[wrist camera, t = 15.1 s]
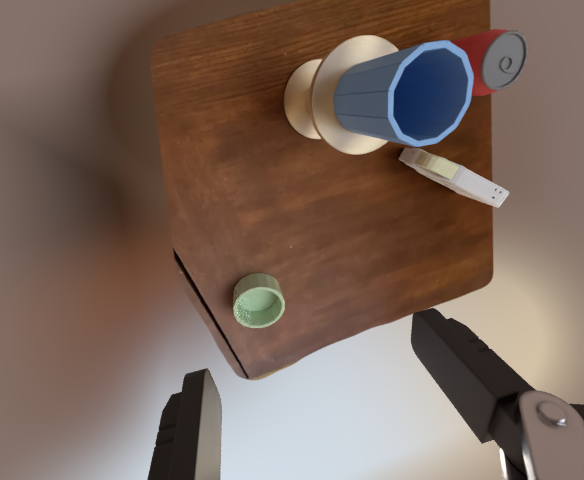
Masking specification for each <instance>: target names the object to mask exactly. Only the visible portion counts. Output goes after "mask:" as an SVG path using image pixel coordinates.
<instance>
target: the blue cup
mask: <svg viewBox="0 0 584 480" xmlns="http://www.w3.org/2000/svg"><path fill="white" fill-rule="evenodd" d="M473 76H474V74H473V71H472V68H471V65H470V62H469V59H468V57H467V54H466V53H465V51H463V50H462V49H460V48H459V47H457V46H456V45H454V44H453V43H451V42H450V41H448V40H441V41H434V42H428V43H423V44H419V45H416V46H413V47H410V48H407V49H404V50H400V51H397V52H394V53H391V54H388V55H385V56H381V57H378V58H375V59H372V60H369V61H366V62H362V63H359V64H356V65H354V66H352V67H351V68H350V69H349V70H348V71H347V72H346V73H345V74H344V75H342V76H341V78H340V79H339V82H338V85H337V87H336V90H335V92H334V96H333V99H334V113H335V115H336V117H337V119H338V120H339V122H340V123H341V125H342V127H344V128H345V129H347V130H350V131H352V132H354V133H357V134H361V135H366V136H370V137H374V138H379V139H383V140H388V141H392V142H396V143H401V144H405V145H409V146H414V147H420V146H425V145H430V144H435V143H437V142H439V141H440V140H442V139H443V138H444V137H445V136H447V135H448V134H449V133H450V132H452V131H453V130H454V129H455V128H456V127H457V126H458V124H459V123H460V121H461V119H462V117H463V115H464V114H465V112H466V110H467V108H468V107H469V105H470V104H469V103H470V102H471V95H472V87H473V80H474V77H473Z"/></svg>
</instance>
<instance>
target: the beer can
mask: <svg viewBox="0 0 584 480" xmlns="http://www.w3.org/2000/svg"><path fill="white" fill-rule="evenodd" d="M451 43H453V44H454V45H456V46H457V47H459V48H460V49H462V50H463V51H465V53H466V54H467V57H468V59H469V62H470V65H471V68H472V71H473V74H474V76H473V77H474V80H473V87H472V95H471V96H484V95H488V94H490V93H493V92H496V91H498V90H501V89H504V88H507V87H508V86H509V85H511V84H512V83H514V81H515V80H516V79H517V78H518V77H519V76H520V74H521V72H522V70H523V68H524V67H525V64H526V60H527V57H528V45H527V40H526V39H525V37H524V35H523V34H522V33H520V32H518V31H513V30H512V31H511V30H510V31H508V30H497V29H496V30H495V29H493V30H490V31H486V32H483V33H479V34H476V35H472V36H469V37H465V38H462V39H458V40H455V41H451Z"/></svg>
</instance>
